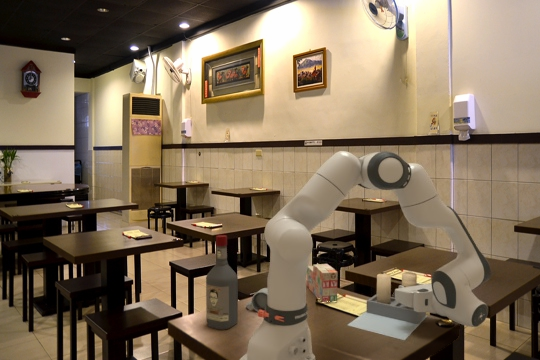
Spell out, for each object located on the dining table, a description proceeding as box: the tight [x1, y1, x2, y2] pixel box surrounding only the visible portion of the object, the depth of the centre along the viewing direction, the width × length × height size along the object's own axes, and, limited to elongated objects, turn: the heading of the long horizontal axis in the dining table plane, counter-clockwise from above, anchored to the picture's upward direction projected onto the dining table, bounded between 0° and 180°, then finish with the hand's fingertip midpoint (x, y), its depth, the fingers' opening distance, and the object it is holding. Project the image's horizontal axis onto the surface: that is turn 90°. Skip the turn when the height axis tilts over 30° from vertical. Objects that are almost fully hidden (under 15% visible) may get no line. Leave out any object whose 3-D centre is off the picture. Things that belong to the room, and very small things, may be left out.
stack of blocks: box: [306, 263, 339, 302], centre depth 171 cm, size 21×6×12 cm, turn 11°
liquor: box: [205, 234, 239, 331], centre depth 140 cm, size 9×9×30 cm
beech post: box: [401, 271, 418, 287], centre depth 143 cm, size 5×5×10 cm
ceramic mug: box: [245, 287, 267, 313], centre depth 155 cm, size 11×8×8 cm
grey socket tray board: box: [347, 273, 428, 341], centre depth 141 cm, size 24×19×14 cm
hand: (407, 286), depth 144 cm, fingers closed on beech post, 5 cm apart
